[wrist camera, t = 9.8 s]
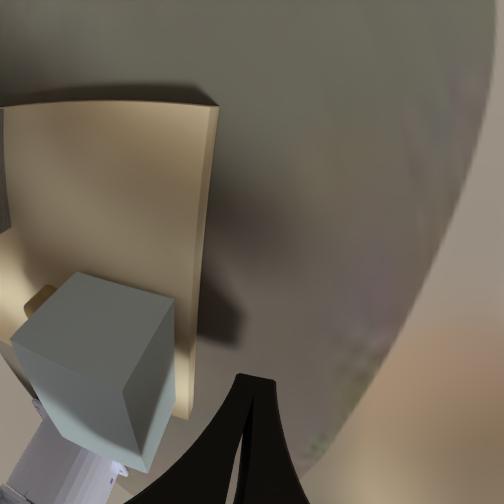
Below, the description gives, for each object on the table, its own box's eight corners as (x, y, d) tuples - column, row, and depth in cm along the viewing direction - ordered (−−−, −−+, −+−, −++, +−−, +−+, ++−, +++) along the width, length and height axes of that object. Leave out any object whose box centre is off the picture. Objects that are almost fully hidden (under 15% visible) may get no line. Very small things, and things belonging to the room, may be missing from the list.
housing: (176, 401, 13) (147, 473, 9) (99, 374, 13) (62, 436, 10) (174, 298, 10) (121, 391, 6) (76, 271, 10) (9, 338, 7)
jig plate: (193, 405, 15) (173, 461, 12) (8, 330, 16) (-22, 364, 12) (219, 106, 8) (171, 110, 5) (-33, 113, 9) (-87, 129, 6)
